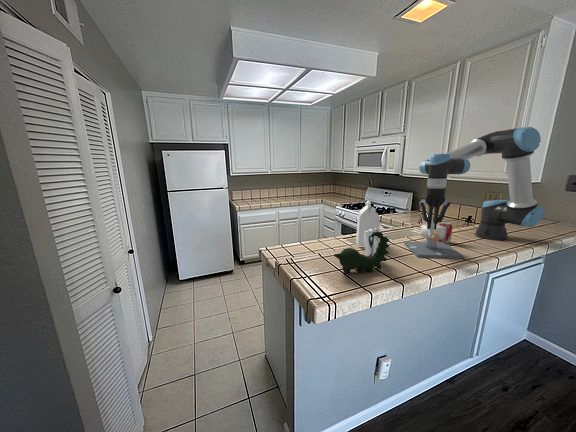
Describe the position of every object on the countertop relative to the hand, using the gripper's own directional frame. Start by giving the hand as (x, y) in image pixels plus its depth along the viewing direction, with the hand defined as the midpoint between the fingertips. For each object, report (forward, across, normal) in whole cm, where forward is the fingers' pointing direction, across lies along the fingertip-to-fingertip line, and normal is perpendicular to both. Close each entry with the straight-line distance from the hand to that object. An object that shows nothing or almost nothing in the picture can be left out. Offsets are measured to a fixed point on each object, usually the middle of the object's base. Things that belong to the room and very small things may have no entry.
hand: (430, 235), depth 111 cm
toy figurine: (+12, -33, -23) cm, 42 cm away
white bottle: (+3, +3, +6) cm, 7 cm away
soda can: (+11, +16, +27) cm, 33 cm away
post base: (+11, +4, +11) cm, 16 cm away
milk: (+12, -28, +15) cm, 34 cm away
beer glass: (+12, -28, -7) cm, 31 cm away
